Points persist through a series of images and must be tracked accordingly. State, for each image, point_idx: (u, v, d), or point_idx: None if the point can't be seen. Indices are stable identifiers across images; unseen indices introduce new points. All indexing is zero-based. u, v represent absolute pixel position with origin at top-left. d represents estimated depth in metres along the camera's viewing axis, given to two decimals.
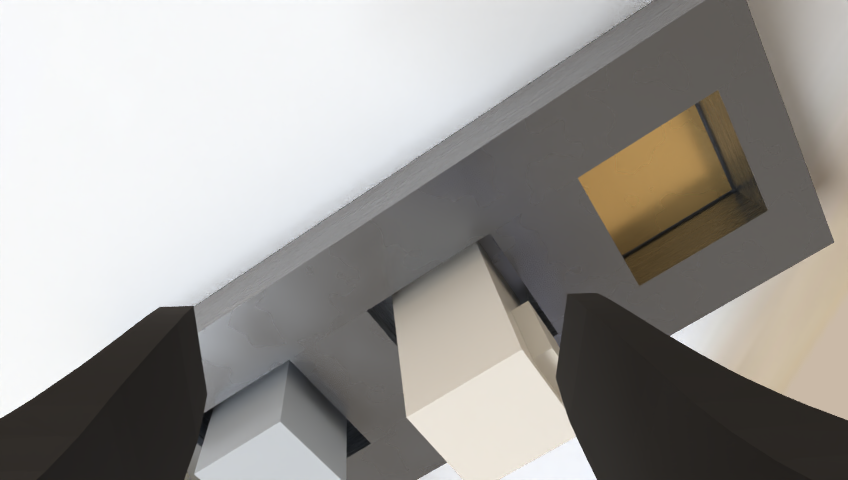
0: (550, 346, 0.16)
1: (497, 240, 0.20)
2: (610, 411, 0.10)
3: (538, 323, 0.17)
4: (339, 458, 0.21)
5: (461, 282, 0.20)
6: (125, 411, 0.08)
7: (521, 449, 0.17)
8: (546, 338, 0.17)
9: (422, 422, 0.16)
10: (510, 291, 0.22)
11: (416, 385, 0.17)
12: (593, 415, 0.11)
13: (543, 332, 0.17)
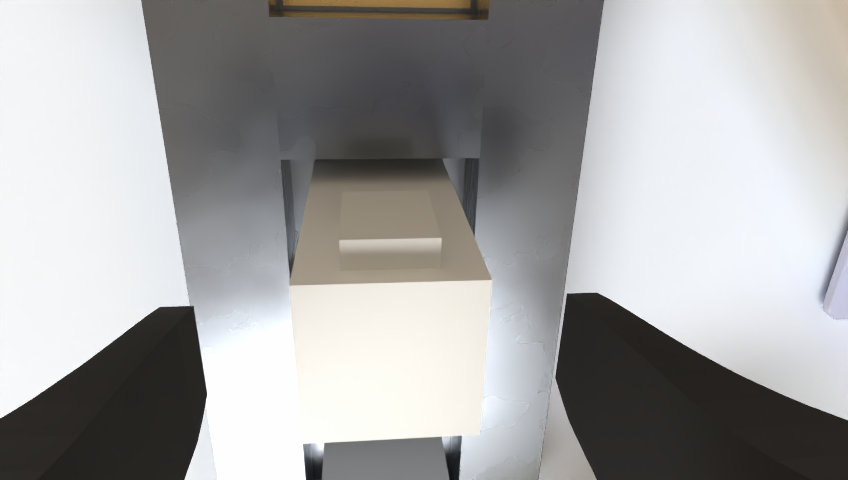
0: (339, 239, 0.11)
1: (295, 157, 0.15)
2: (610, 411, 0.10)
3: (340, 215, 0.12)
4: (431, 461, 0.18)
5: None
6: (125, 411, 0.08)
7: (455, 358, 0.11)
8: (340, 230, 0.11)
9: (321, 433, 0.12)
10: (406, 167, 0.16)
11: None
12: (593, 415, 0.11)
13: (341, 224, 0.11)
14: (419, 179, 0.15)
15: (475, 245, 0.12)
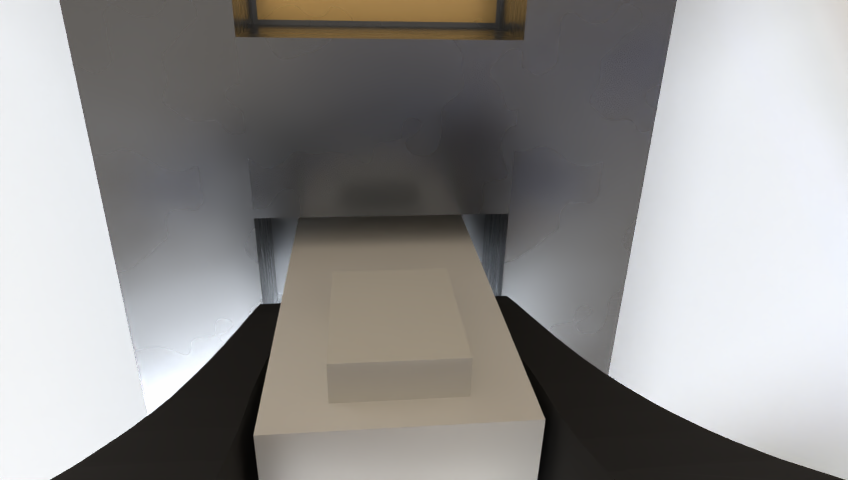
0: (327, 361, 0.08)
1: (273, 215, 0.11)
2: None
3: (330, 314, 0.09)
4: None
5: None
6: (259, 404, 0.08)
7: None
8: (329, 343, 0.08)
9: None
10: (414, 220, 0.13)
11: None
12: None
13: (330, 331, 0.08)
14: (431, 238, 0.12)
15: (513, 352, 0.09)
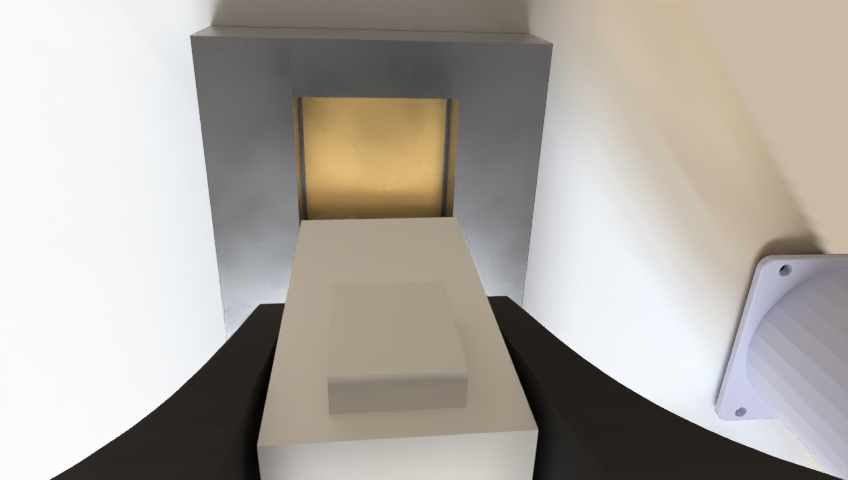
0: (328, 373, 0.08)
1: None
2: None
3: (330, 327, 0.09)
4: None
5: None
6: (258, 404, 0.08)
7: None
8: (329, 356, 0.08)
9: None
10: (413, 230, 0.13)
11: None
12: None
13: (330, 343, 0.08)
14: (430, 249, 0.12)
15: (509, 362, 0.09)
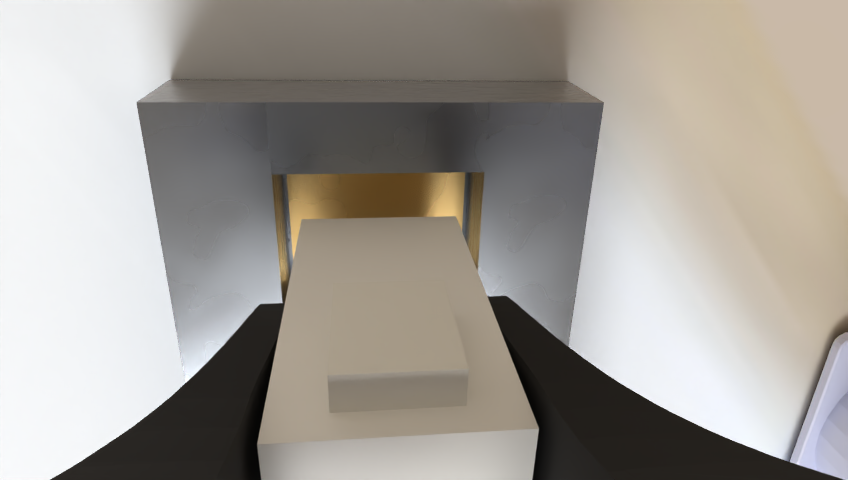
0: (328, 372, 0.08)
1: None
2: None
3: (330, 325, 0.09)
4: None
5: None
6: (259, 404, 0.08)
7: None
8: (330, 354, 0.08)
9: None
10: (413, 229, 0.13)
11: None
12: None
13: (330, 342, 0.08)
14: (430, 248, 0.12)
15: (509, 361, 0.09)
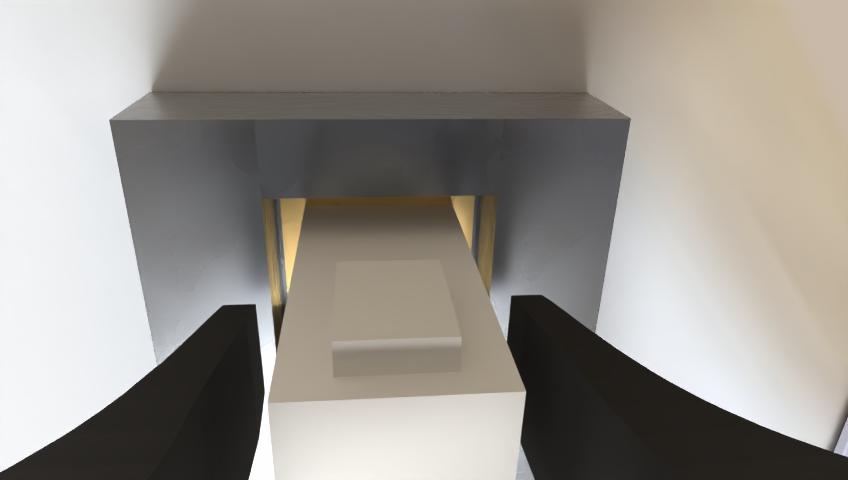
0: (332, 338, 0.08)
1: None
2: (545, 414, 0.10)
3: (334, 299, 0.09)
4: None
5: None
6: (209, 407, 0.08)
7: None
8: (334, 324, 0.09)
9: None
10: (411, 216, 0.14)
11: None
12: (532, 418, 0.11)
13: (334, 313, 0.09)
14: (427, 233, 0.13)
15: (500, 333, 0.10)
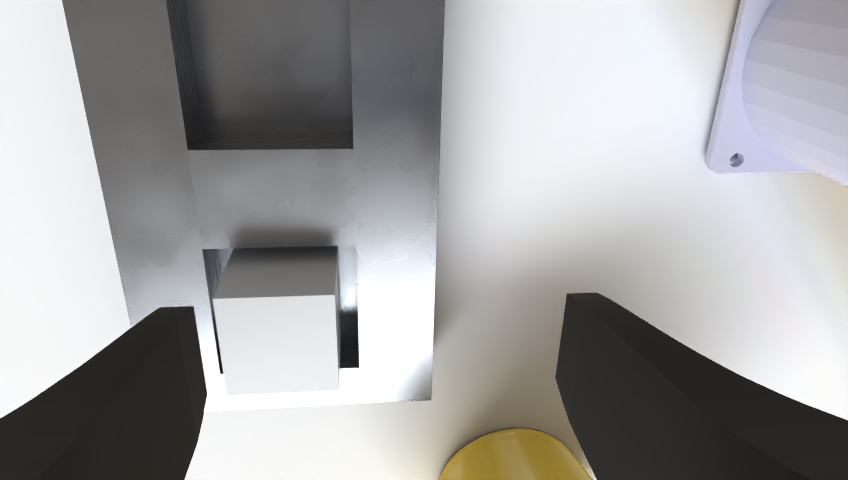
0: None
1: None
2: (610, 411, 0.10)
3: None
4: (321, 281, 0.19)
5: None
6: (125, 411, 0.08)
7: None
8: None
9: None
10: None
11: None
12: (593, 415, 0.11)
13: None
14: None
15: None
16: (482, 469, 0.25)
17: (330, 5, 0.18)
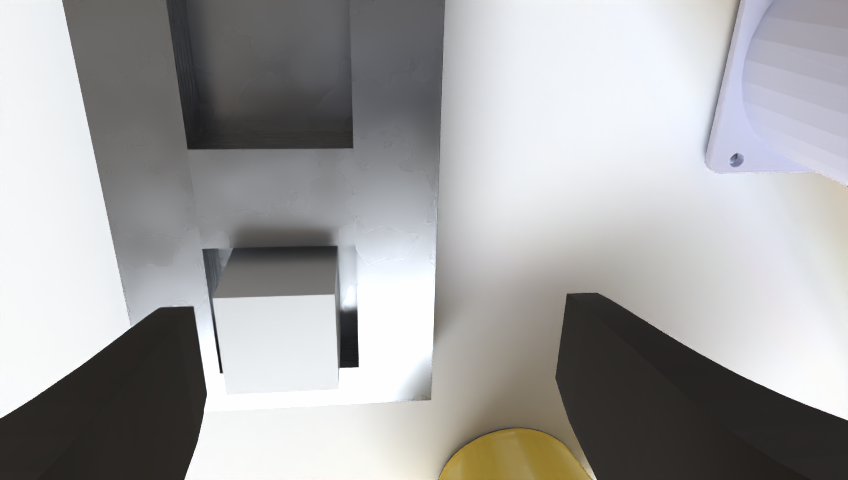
0: None
1: None
2: (610, 411, 0.10)
3: None
4: (321, 280, 0.19)
5: None
6: (125, 411, 0.08)
7: None
8: None
9: None
10: None
11: None
12: (593, 415, 0.11)
13: None
14: None
15: None
16: (482, 469, 0.25)
17: (330, 5, 0.18)
